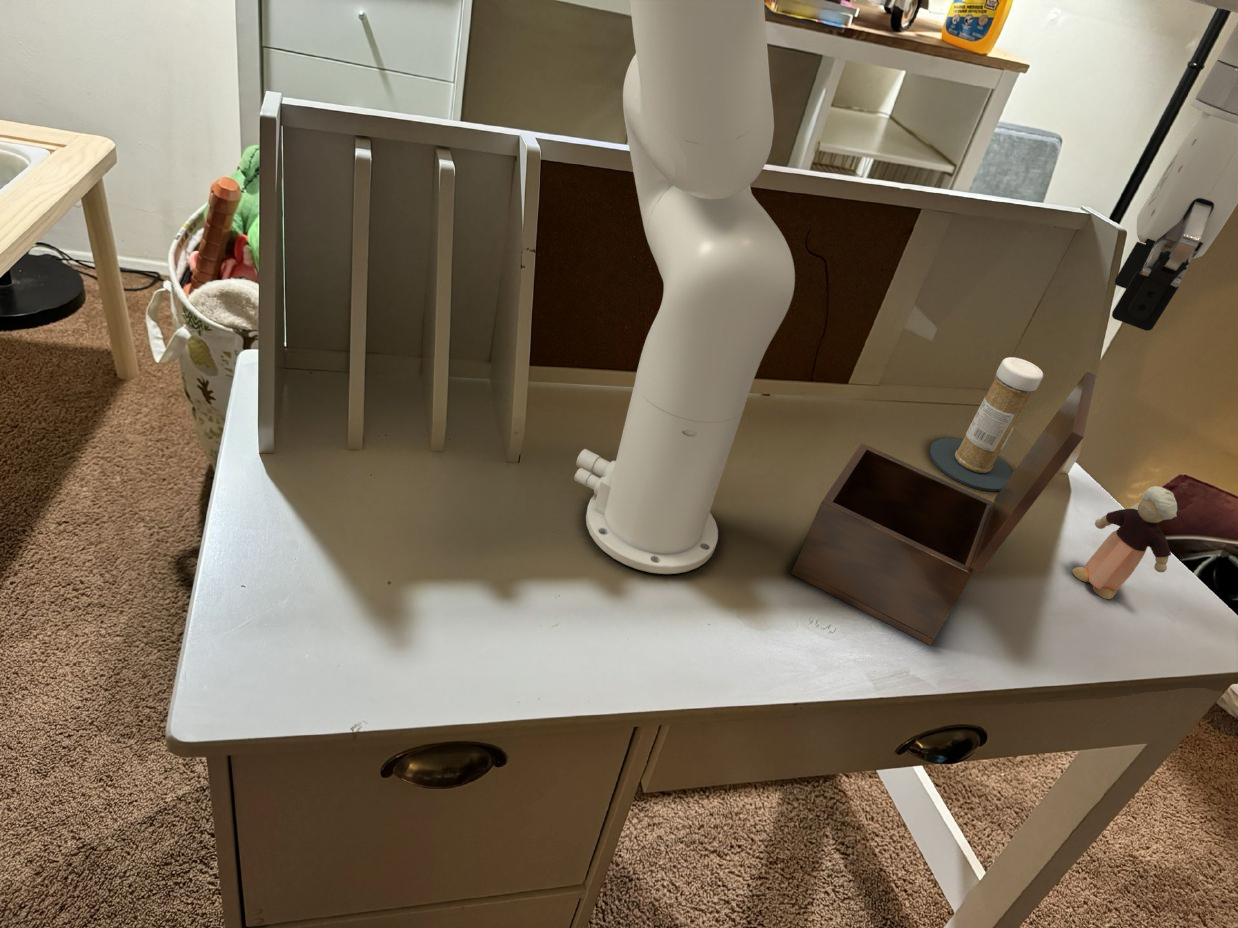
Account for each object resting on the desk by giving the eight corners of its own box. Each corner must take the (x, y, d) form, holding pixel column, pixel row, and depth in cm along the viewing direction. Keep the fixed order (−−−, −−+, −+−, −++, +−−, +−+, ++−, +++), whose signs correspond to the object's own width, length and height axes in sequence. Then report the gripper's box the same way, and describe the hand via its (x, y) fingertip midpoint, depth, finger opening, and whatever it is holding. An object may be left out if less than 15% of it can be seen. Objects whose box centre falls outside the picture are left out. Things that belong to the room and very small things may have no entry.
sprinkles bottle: (998, 470, 103) (1053, 373, 95) (975, 478, 101) (1029, 379, 93) (968, 448, 106) (1018, 353, 98) (945, 455, 104) (995, 358, 96)
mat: (920, 465, 101) (922, 462, 101) (938, 430, 109) (940, 428, 109) (1005, 503, 98) (1006, 500, 98) (1017, 465, 106) (1019, 462, 106)
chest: (790, 573, 81) (821, 501, 76) (831, 510, 91) (861, 442, 85) (930, 645, 77) (972, 574, 72) (957, 571, 86) (997, 503, 81)
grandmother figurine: (1056, 569, 90) (1121, 473, 83) (1072, 557, 92) (1136, 463, 85) (1127, 618, 86) (1202, 521, 78) (1142, 604, 88) (1216, 508, 81)
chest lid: (1072, 431, 63) (1084, 437, 63) (1086, 370, 72) (1096, 375, 72) (970, 567, 72) (980, 572, 71) (995, 497, 81) (1003, 501, 81)
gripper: (1196, 75, 73) (1091, 264, 83) (1208, 99, 59) (1081, 320, 69) (1292, 102, 71) (1173, 293, 80) (1328, 133, 57) (1179, 357, 67)
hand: (1130, 305), depth 75 cm, fingers open, 9 cm apart
